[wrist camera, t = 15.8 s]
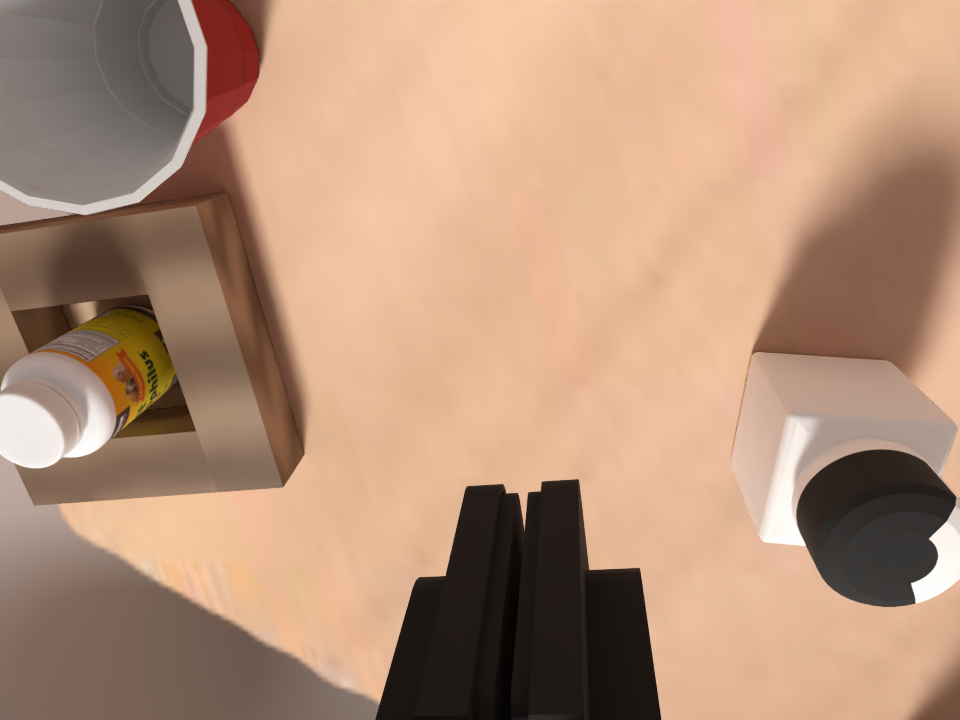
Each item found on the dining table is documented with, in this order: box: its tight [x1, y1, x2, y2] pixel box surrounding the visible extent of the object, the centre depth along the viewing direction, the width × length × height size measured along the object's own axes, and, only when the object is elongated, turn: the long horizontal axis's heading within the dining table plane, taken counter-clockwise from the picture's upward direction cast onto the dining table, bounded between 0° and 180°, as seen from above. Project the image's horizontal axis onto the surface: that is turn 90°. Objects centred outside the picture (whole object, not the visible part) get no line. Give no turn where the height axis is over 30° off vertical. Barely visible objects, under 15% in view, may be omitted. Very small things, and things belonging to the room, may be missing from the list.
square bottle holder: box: [0, 192, 304, 505], centre depth 39 cm, size 16×16×4 cm
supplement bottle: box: [0, 305, 178, 468], centre depth 36 cm, size 6×6×10 cm
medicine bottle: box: [730, 352, 960, 607], centre depth 33 cm, size 7×7×12 cm
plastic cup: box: [0, 0, 259, 215], centre depth 29 cm, size 11×11×12 cm
